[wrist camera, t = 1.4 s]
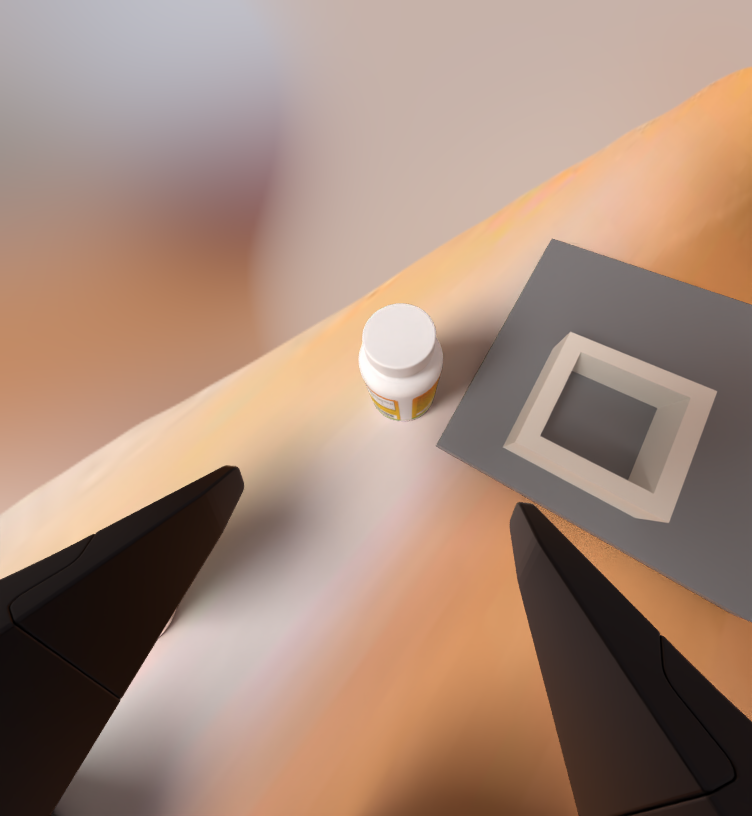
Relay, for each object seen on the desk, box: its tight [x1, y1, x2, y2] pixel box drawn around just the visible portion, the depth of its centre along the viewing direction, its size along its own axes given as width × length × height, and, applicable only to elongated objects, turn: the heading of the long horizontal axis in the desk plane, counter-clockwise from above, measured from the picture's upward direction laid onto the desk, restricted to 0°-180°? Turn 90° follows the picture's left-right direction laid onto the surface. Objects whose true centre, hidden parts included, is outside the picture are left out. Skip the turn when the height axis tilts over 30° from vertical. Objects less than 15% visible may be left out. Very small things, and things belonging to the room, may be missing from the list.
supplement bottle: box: [359, 303, 443, 422], centre depth 19 cm, size 5×5×10 cm
